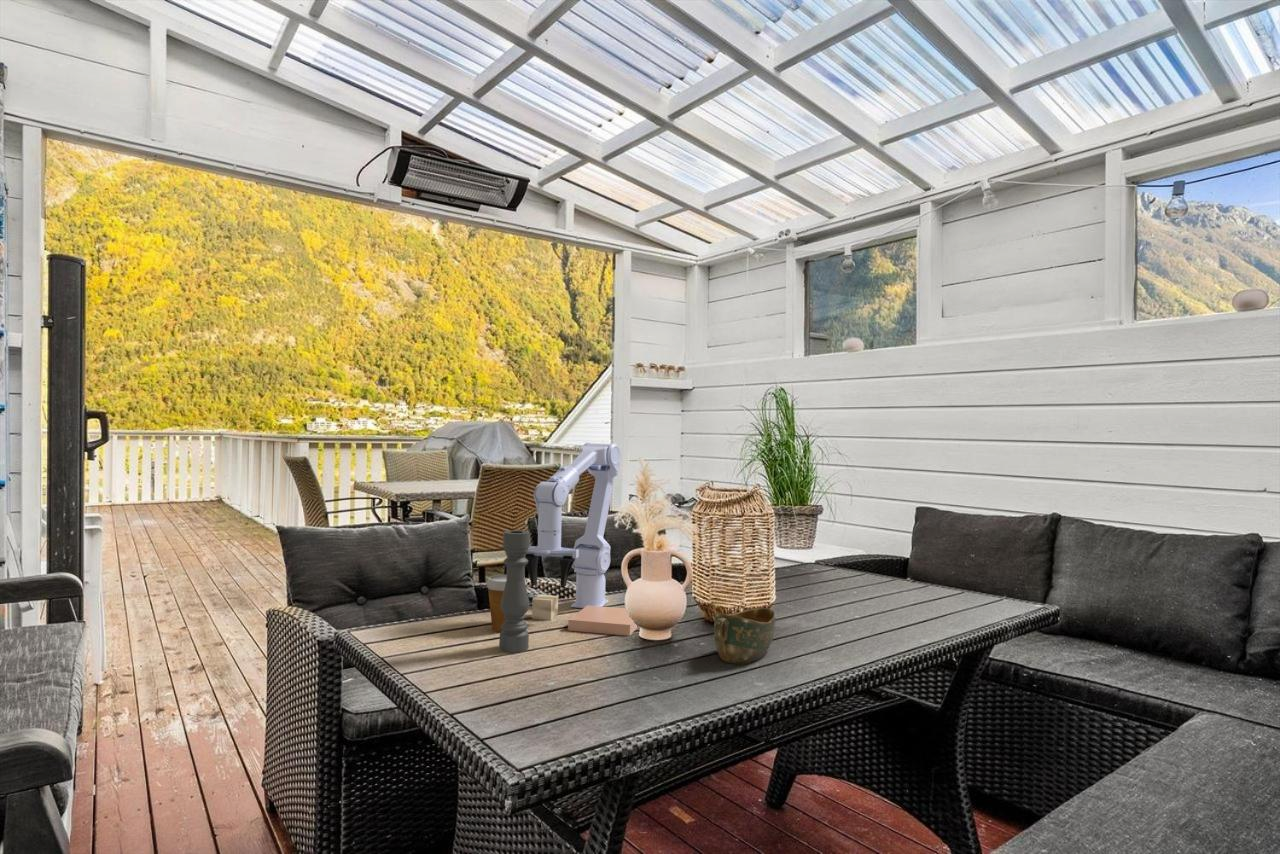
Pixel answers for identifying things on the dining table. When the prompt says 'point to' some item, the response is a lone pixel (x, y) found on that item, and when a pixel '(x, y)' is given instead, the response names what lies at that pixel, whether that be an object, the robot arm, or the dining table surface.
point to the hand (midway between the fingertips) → (548, 585)
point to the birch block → (545, 607)
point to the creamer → (744, 635)
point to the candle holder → (515, 593)
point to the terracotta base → (602, 621)
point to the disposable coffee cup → (496, 599)
